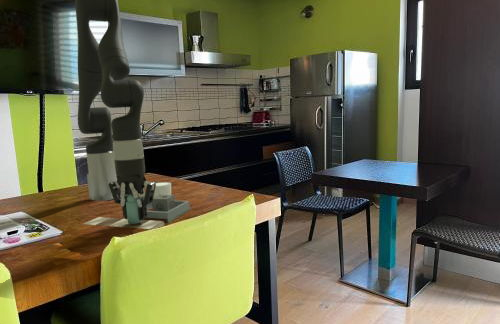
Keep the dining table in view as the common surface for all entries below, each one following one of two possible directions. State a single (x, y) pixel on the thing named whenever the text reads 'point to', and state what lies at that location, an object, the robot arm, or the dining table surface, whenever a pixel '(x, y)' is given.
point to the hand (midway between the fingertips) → (135, 218)
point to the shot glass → (162, 189)
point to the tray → (172, 214)
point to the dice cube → (163, 203)
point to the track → (121, 222)
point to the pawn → (132, 210)
